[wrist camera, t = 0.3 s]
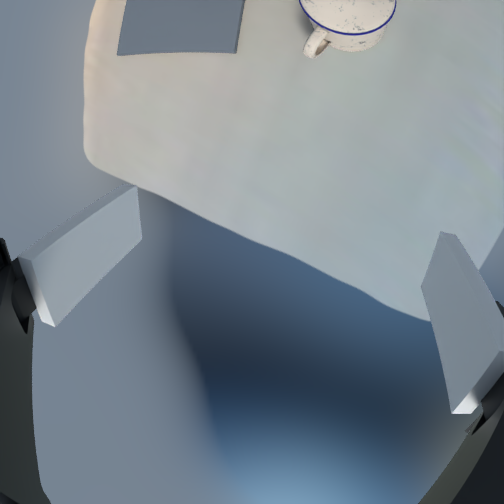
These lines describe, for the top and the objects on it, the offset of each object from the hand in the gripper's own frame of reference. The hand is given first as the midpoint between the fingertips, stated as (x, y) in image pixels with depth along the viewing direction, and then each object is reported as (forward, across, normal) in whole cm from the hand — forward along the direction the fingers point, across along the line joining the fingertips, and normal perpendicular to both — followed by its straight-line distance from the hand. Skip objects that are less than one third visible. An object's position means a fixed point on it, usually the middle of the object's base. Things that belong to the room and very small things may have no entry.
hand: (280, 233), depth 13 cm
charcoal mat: (+29, -19, +20) cm, 40 cm away
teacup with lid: (+28, +2, +13) cm, 31 cm away
